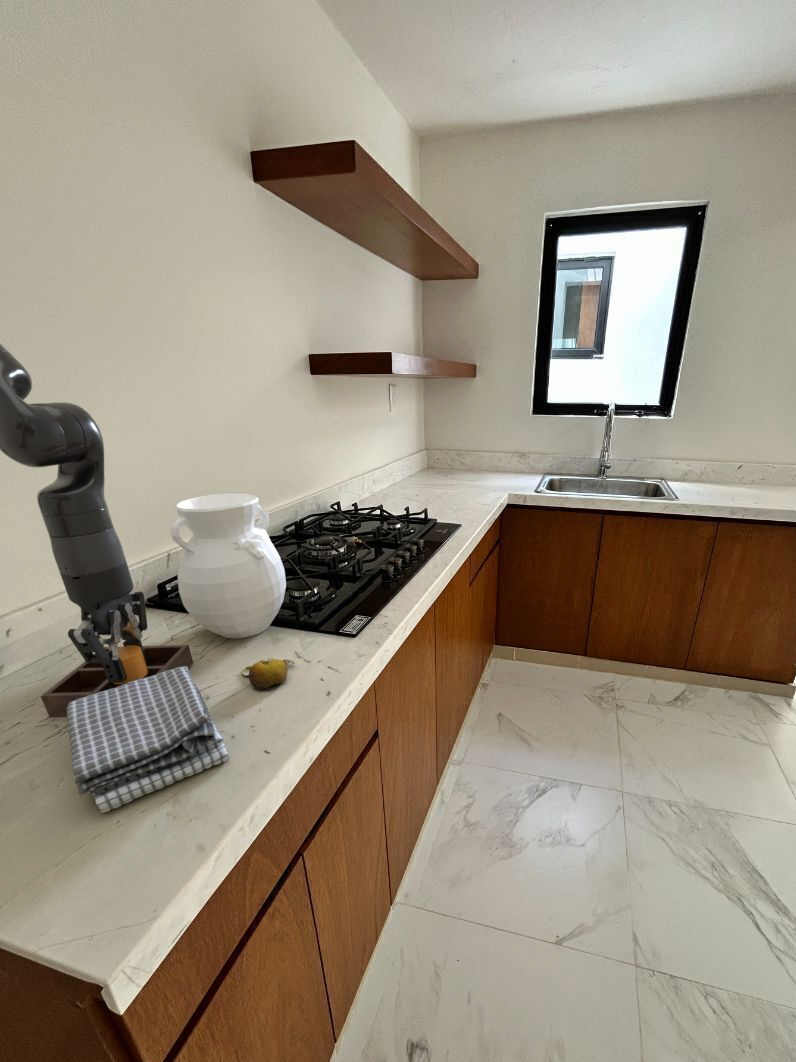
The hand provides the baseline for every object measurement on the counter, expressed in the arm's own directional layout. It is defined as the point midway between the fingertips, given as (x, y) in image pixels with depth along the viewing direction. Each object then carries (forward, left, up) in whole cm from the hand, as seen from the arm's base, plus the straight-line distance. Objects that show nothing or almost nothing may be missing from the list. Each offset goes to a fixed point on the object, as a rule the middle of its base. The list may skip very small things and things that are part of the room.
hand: (128, 671), depth 74 cm
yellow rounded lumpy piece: (+19, +6, -5) cm, 20 cm away
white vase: (+8, +24, -5) cm, 26 cm away
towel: (+9, -12, -5) cm, 16 cm away
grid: (-3, +3, -5) cm, 7 cm away
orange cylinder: (0, 0, -1) cm, 1 cm away
